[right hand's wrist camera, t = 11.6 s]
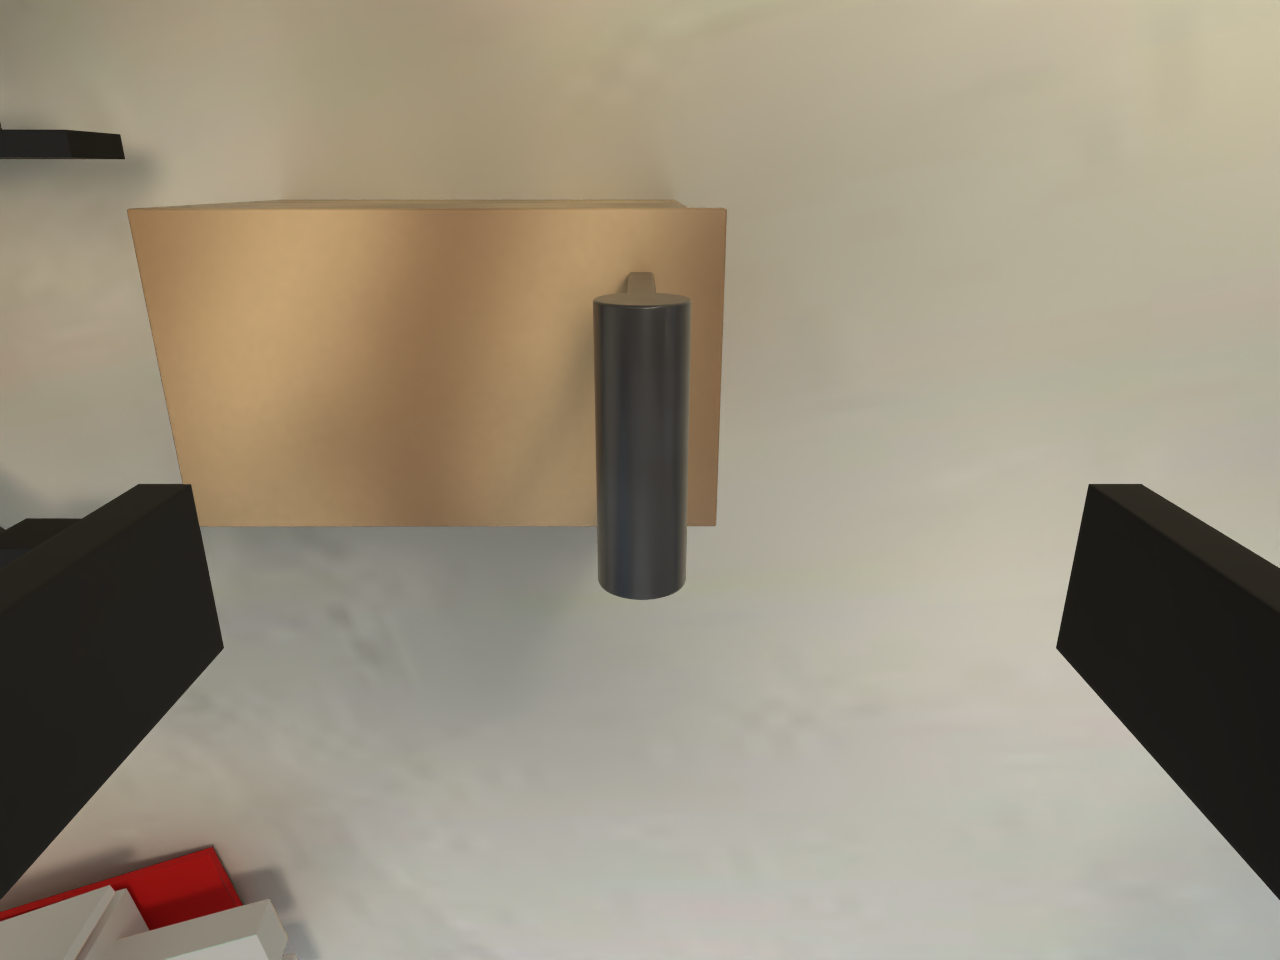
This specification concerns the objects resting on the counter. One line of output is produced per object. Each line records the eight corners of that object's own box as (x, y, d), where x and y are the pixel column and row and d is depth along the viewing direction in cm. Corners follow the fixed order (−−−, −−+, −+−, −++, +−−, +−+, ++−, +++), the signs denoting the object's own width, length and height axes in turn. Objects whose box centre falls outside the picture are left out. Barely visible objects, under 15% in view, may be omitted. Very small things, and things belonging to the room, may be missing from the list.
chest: (675, 199, 32) (689, 207, 23) (672, 431, 35) (683, 516, 27) (280, 200, 32) (144, 207, 23) (313, 431, 35) (204, 516, 27)
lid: (724, 208, 23) (768, 222, 15) (714, 516, 27) (746, 660, 19) (143, 207, 23) (-115, 223, 15) (204, 516, 26) (17, 661, 19)
